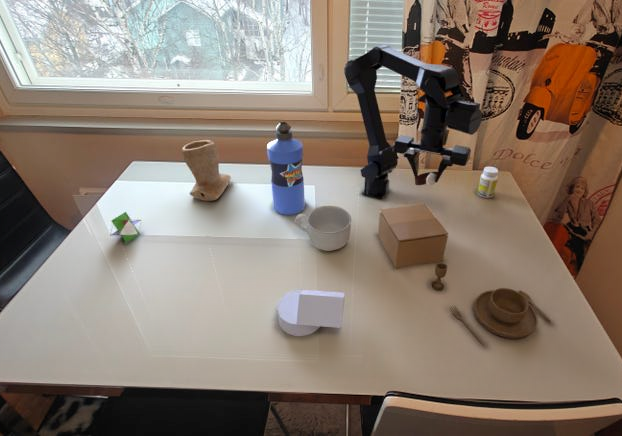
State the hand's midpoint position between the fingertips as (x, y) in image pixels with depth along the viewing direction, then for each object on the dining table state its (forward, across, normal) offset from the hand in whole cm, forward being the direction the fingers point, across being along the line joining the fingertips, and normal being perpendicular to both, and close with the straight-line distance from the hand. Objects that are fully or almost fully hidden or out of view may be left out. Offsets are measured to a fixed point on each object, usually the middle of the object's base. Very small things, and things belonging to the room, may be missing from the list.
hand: (426, 179), depth 103 cm
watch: (+1, 0, 0) cm, 1 cm away
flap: (+3, +1, +13) cm, 14 cm away
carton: (+11, -2, +16) cm, 19 cm away
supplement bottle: (+12, -14, -20) cm, 27 cm away
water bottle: (+11, +35, +13) cm, 39 cm away
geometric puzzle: (+11, +64, +44) cm, 79 cm away
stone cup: (+11, +62, +16) cm, 66 cm away
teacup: (+11, +19, +23) cm, 32 cm away
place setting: (+12, -22, +26) cm, 36 cm away
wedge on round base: (+11, +9, +47) cm, 49 cm away
